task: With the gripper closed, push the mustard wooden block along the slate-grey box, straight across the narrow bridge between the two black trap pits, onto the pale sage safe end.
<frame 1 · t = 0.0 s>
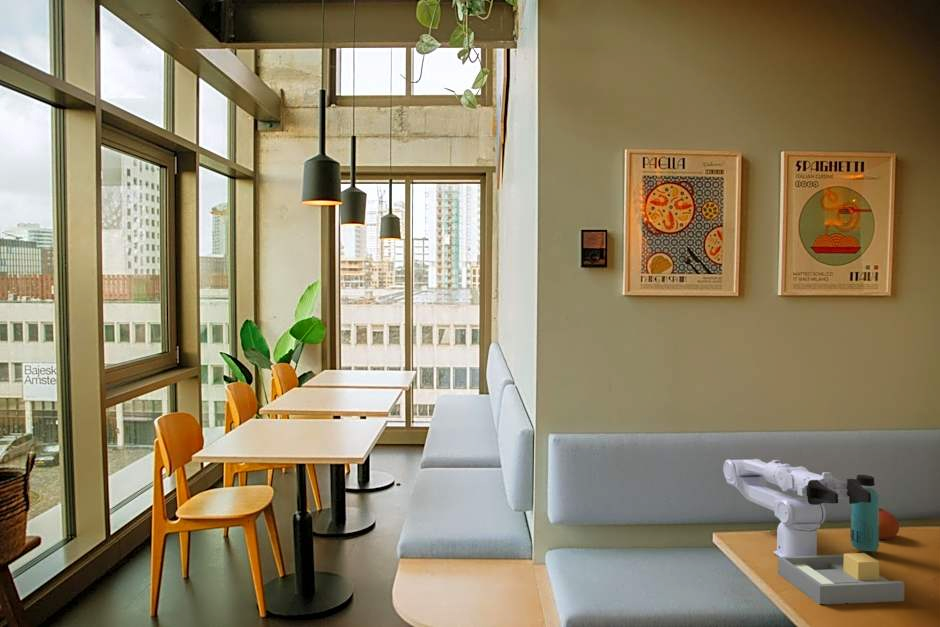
hand: (853, 498, 144), 22 cm above the table, tool horizontal, fingers open, 7 cm apart
block: (860, 574, 150), point 2 cm above the table, touching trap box
fruit: (879, 537, 181), on the table
beverage bottle: (864, 553, 169), on the table
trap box: (838, 586, 149), on the table
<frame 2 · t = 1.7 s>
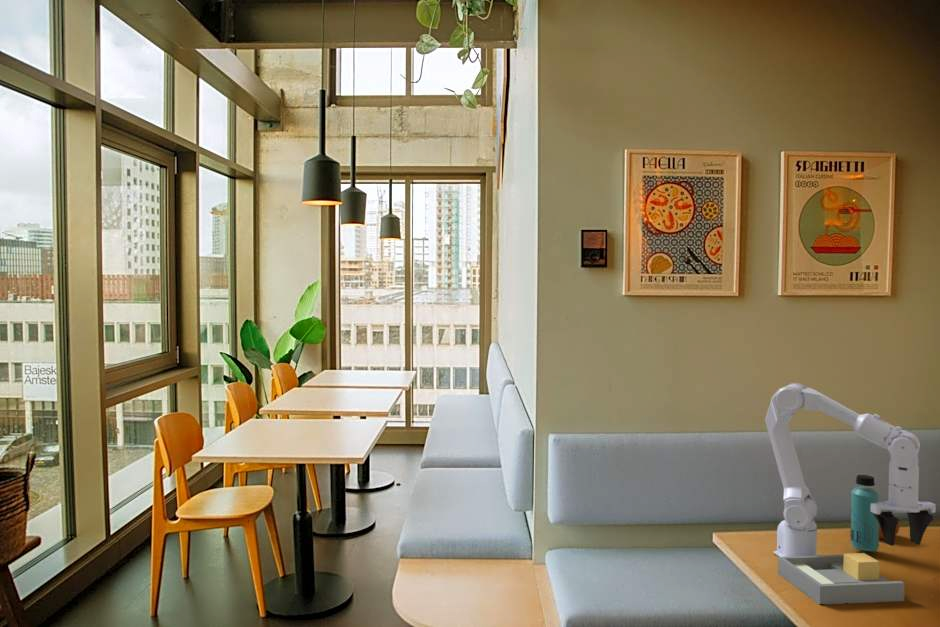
hand: (902, 543, 150), 9 cm above the table, tool pointing down, fingers open, 6 cm apart
nothing on the table moved.
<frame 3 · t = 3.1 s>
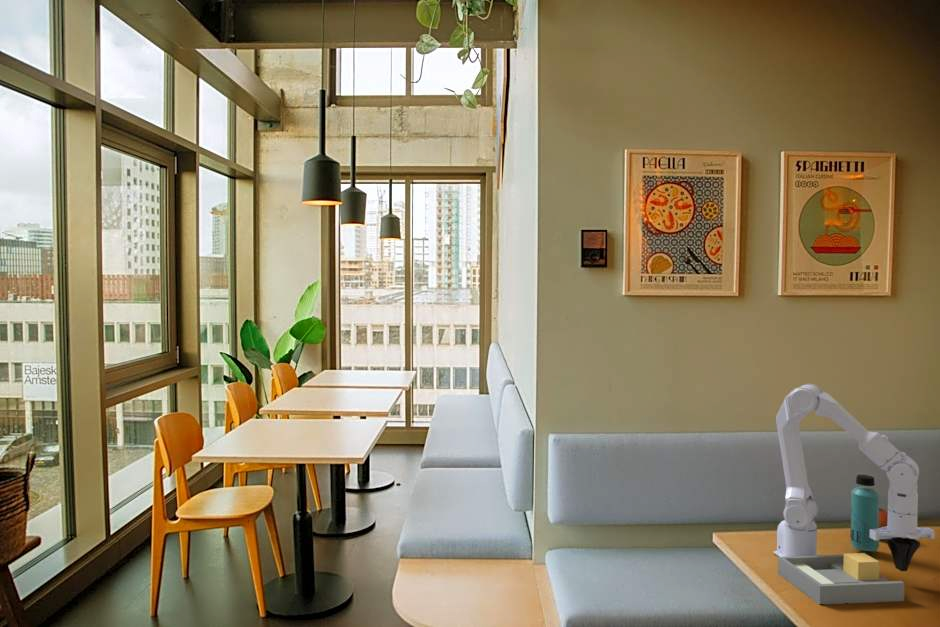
hand: (901, 569, 151), 3 cm above the table, tool pointing down, fingers closed
nothing on the table moved.
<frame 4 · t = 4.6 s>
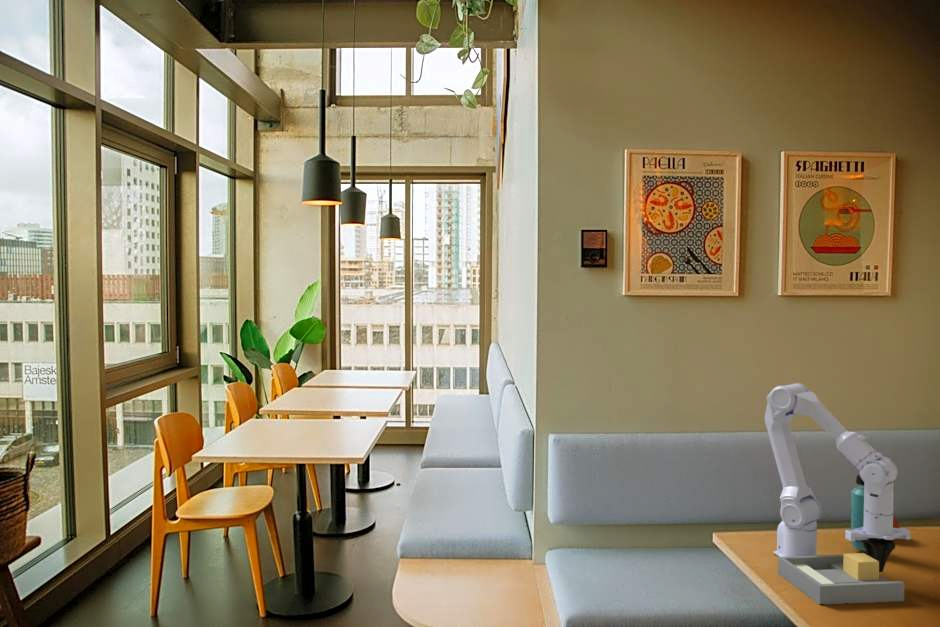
hand: (877, 570, 150), 3 cm above the table, tool pointing down, fingers closed
block: (860, 574, 150), point 3 cm above the table, touching gripper, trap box
everything else where it was.
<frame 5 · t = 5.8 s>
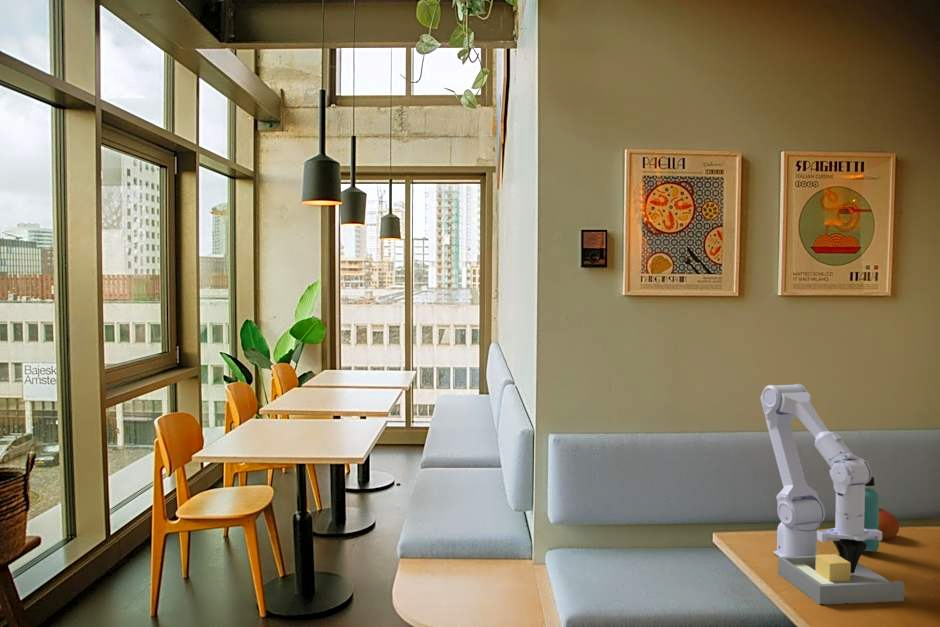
hand: (848, 571, 149), 3 cm above the table, tool pointing down, fingers closed
block: (832, 576, 149), point 3 cm above the table, touching gripper
everything else where it was.
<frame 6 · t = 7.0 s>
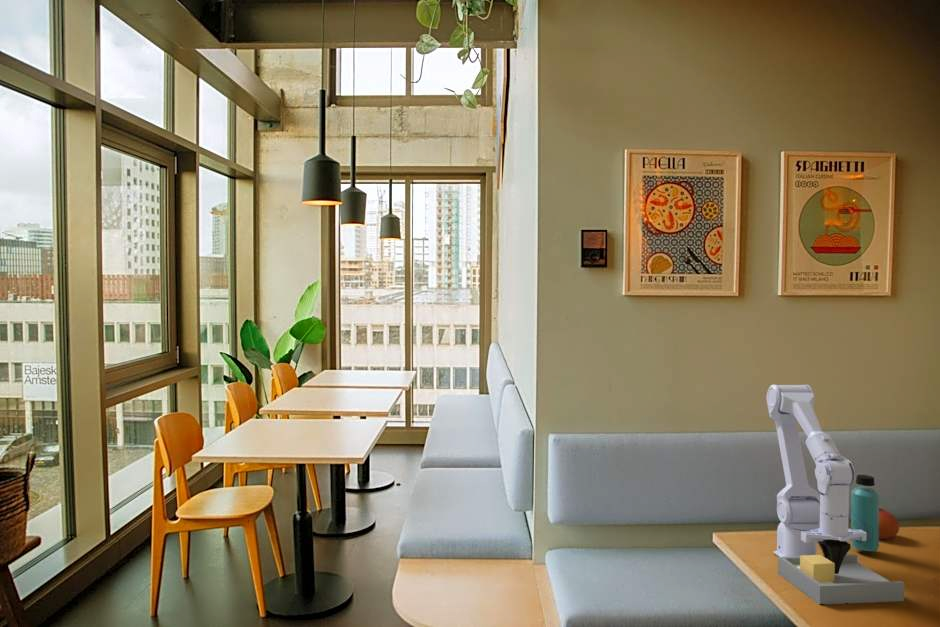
hand: (833, 572, 149), 3 cm above the table, tool pointing down, fingers closed
block: (816, 576, 148), point 2 cm above the table, touching gripper, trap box
everything else where it was.
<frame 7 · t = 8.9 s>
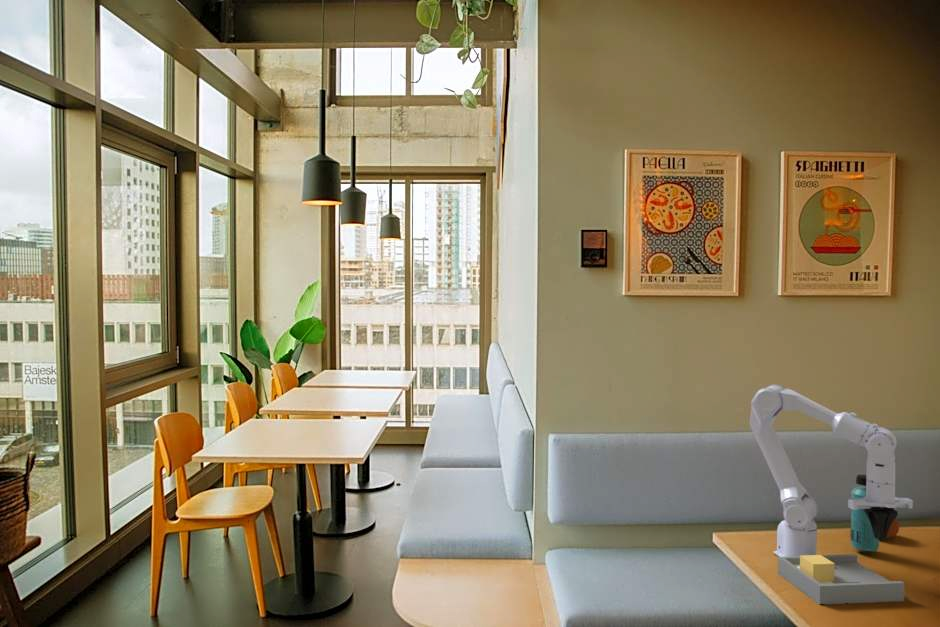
hand: (879, 538, 153), 9 cm above the table, tool pointing down, fingers closed
block: (816, 576, 148), point 2 cm above the table, touching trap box
everything else where it was.
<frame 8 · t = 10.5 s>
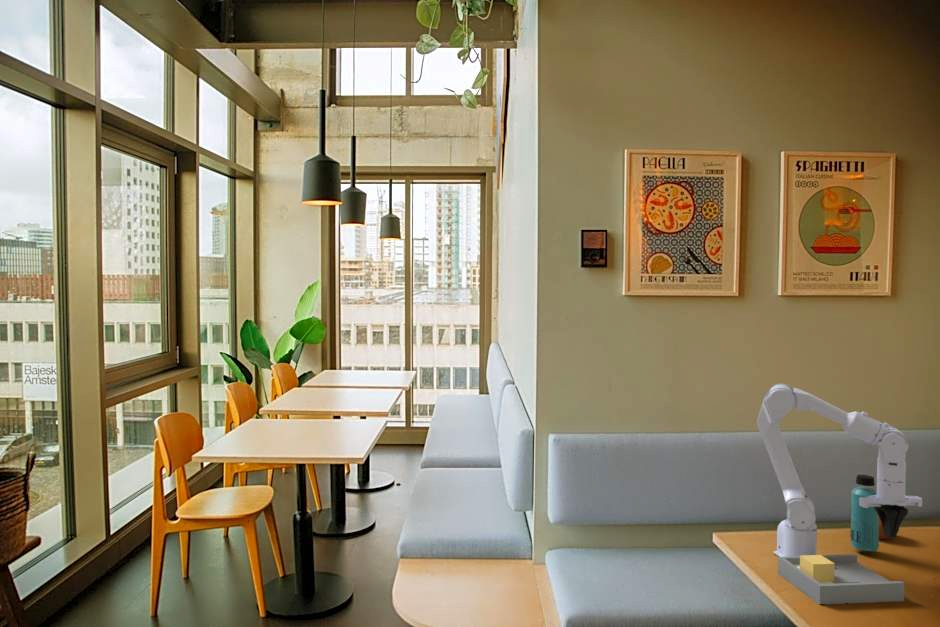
hand: (890, 536, 155), 9 cm above the table, tool pointing down, fingers closed
nothing on the table moved.
at the end: block 0.5 cm from the target spot on the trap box, point 2.5 cm above the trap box's base; block tilted 0°; block moved 10.8 cm from its start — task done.
